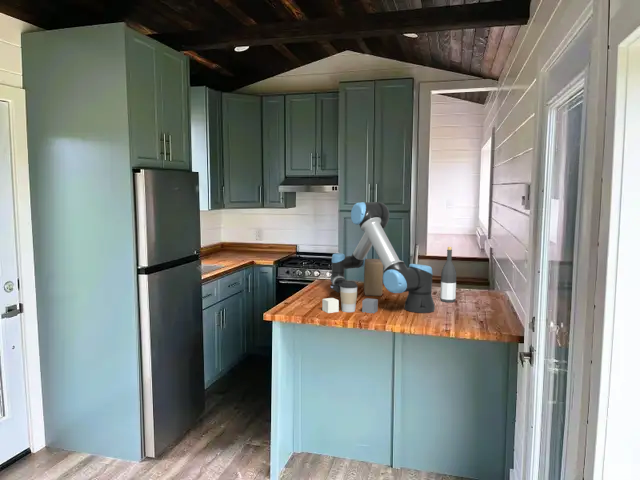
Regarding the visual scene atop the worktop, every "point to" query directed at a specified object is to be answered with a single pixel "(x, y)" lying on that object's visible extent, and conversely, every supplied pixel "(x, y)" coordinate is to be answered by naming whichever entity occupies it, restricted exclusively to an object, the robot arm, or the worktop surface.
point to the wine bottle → (448, 280)
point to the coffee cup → (348, 295)
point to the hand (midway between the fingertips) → (346, 293)
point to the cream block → (330, 305)
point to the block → (373, 277)
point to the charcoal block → (370, 305)
